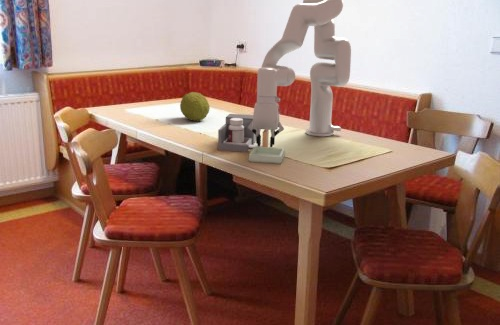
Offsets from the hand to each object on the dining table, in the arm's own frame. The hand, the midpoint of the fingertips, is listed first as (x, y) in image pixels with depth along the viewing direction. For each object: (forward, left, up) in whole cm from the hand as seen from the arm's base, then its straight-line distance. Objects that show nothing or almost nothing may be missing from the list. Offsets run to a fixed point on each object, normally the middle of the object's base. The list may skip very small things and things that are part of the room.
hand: (265, 145), depth 191 cm
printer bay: (+12, -4, -1) cm, 12 cm away
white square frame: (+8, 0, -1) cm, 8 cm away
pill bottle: (+12, 0, -2) cm, 12 cm away
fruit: (+43, -45, -2) cm, 62 cm away
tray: (-3, +13, -1) cm, 13 cm away
